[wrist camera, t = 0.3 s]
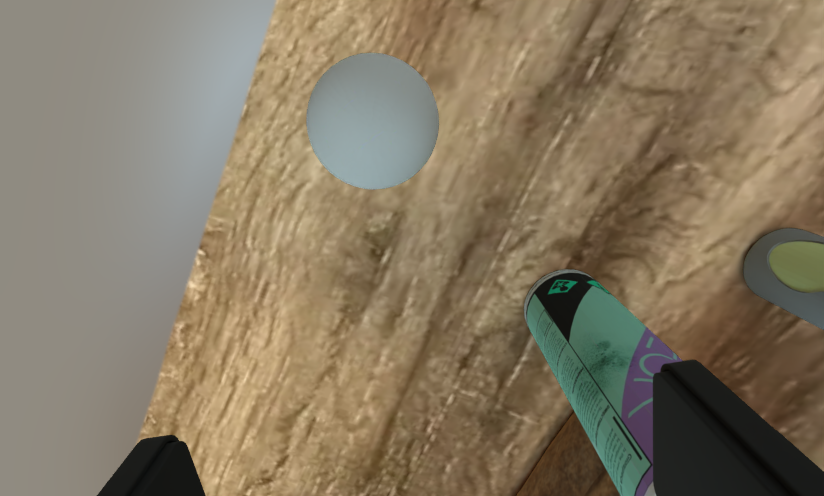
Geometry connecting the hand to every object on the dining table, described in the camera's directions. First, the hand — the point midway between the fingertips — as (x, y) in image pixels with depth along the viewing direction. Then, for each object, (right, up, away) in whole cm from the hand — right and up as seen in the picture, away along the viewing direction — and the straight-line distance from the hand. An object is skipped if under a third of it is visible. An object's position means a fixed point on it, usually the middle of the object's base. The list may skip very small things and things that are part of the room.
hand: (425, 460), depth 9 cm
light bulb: (-2, +12, +19) cm, 22 cm away
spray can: (+10, 0, +22) cm, 25 cm away
